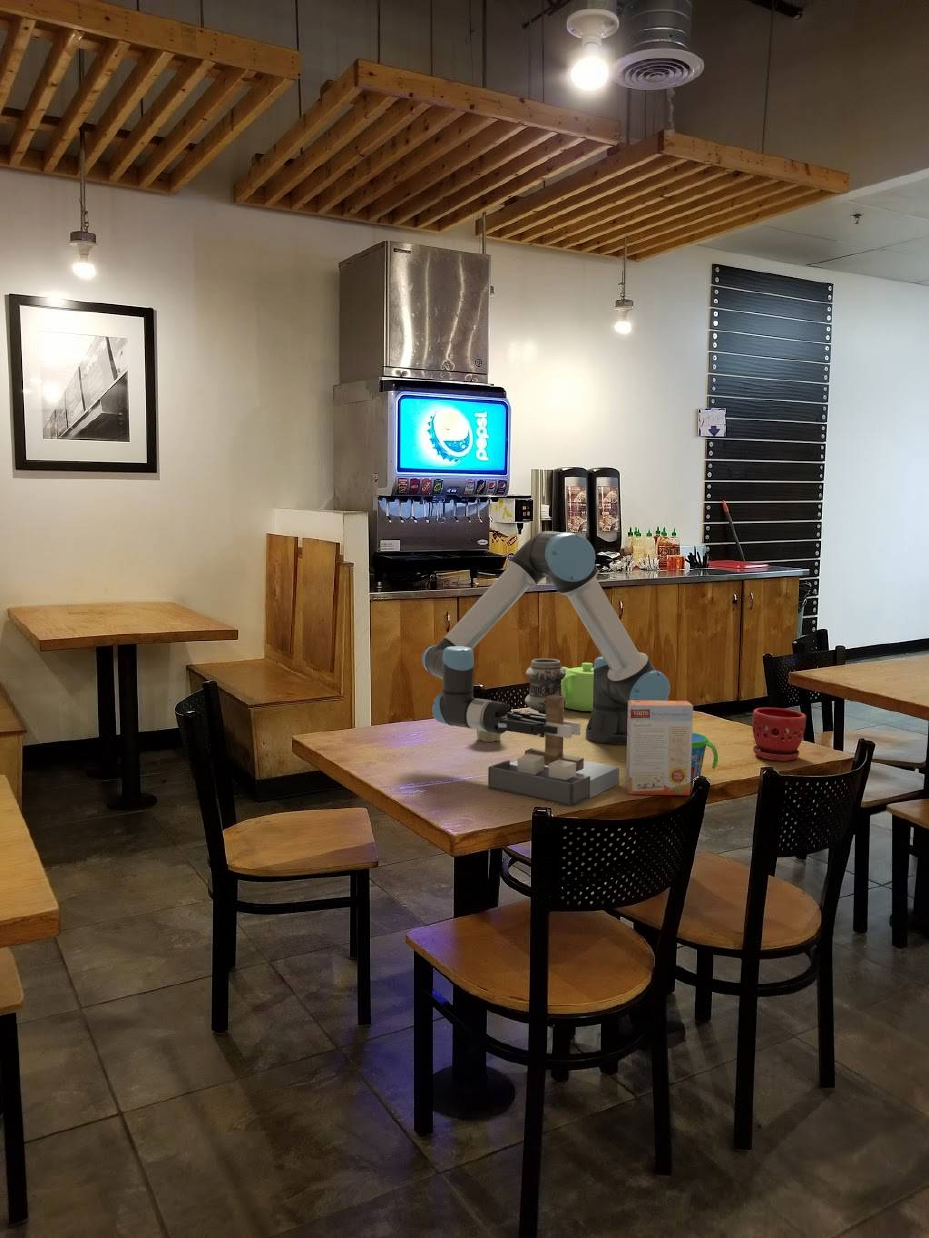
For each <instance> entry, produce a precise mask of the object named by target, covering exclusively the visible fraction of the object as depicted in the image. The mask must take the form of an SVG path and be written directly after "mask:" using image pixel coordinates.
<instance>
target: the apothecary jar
mask: <svg viewBox="0 0 929 1238" xmlns="http://www.w3.org/2000/svg"><path fill="white" fill-rule="evenodd" d="M562 667H563V666H561V661H560V660H559V659H557V658H534V659H532V660H531V663H530V666H529V667H528V668H527V669H526V671H525V674H526V677H527V678H528V679H529V692H528V693H529V694H527V696H526V697H525V699H524V702H525V705H527V707H528V708H530V709H531V710H534V711H537V713H540V714H545V715H546V697H548V696H551V695H556V696H563V695H562V693H561V680H562V679H563V678H564V677H565V675H566V673H565V670H564V669H563V668H562ZM563 697H564V696H563ZM565 703H566V700H565V698H564V705H565Z"/></svg>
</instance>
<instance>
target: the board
mask: <svg viewBox="0 0 929 1238" xmlns="http://www.w3.org/2000/svg"><path fill="white" fill-rule="evenodd" d="M510 771H514V772H518V765H517V760H515V761H512V762H510ZM519 773H523V772H519ZM524 774H528V773H524ZM529 775H533V774H529ZM534 776H539V777H543V778H548V779H553V780H558V781H563V782H568V783H573V782H575V781H577V780H579V779H582V778H584V777H586V776H590V798H592V797H594V796H597V795H599V794H601V793H603V792H605V791H607V790H609V789H610V788H613V787H616V786H617V785H619V784H620V766H614V765H609V764H605V763H599V762H594V761H588V760H584V769H582V770H579V771H576V776H574V777H572V778H570V779H567V780H562V779H558V778H553V777H549V766H546V765H545V769H543V770H542V771H540V772H538V773H537V774H535V775H534ZM590 798H589V799H590Z"/></svg>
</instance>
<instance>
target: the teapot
mask: <svg viewBox="0 0 929 1238" xmlns="http://www.w3.org/2000/svg"><path fill="white" fill-rule="evenodd" d="M561 667H562V668H563V669H564V670H565V673H566V675H565V677H564V678H563V679H562V680H561V693H562V695H563V696H564V698H565V700H566V703H565V705H564V708H566V709H569V710H573V711H579V712H580V711H581V712H583V711H590V712H592V711H593V680H594V672H593V669H594V663H592V662H582V663H581V666H580V667H579V666H578V667H572V668H569V667H566V666H561Z"/></svg>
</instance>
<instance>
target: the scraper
mask: <svg viewBox="0 0 929 1238" xmlns="http://www.w3.org/2000/svg"><path fill="white" fill-rule="evenodd" d="M564 719H565V707H564V697H563V696H556V695H551V696H548V697H546V722H551V723H557V724H563V725H564V721H565V720H564ZM544 737H545V738H544V741H545V743H544V744H545V747H544V750H543V749H538V748H532V747H531V748H529V749H528V748H527V749H525V750H524V755H525V754H527V753H530V754H535V755H540V756H544V761H545V765H546V766H549V763H552V762H554V761H556V760H559V759H560V760H565V761H570V762H575V763H576V771H579V770H582V769H584V761H585V760H584V759H585V758H584V757H581V756H575V755H571V754H565V753H564V737H559V736H554V735H548V734H546V733H545V732H544Z"/></svg>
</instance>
